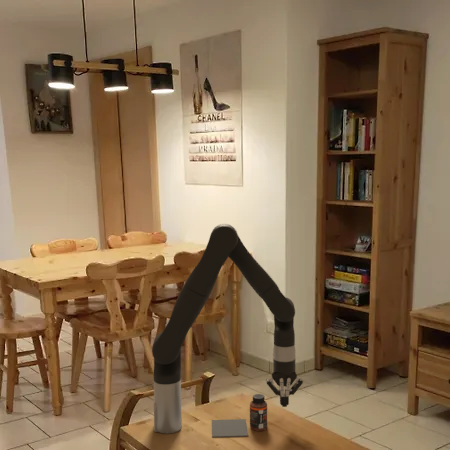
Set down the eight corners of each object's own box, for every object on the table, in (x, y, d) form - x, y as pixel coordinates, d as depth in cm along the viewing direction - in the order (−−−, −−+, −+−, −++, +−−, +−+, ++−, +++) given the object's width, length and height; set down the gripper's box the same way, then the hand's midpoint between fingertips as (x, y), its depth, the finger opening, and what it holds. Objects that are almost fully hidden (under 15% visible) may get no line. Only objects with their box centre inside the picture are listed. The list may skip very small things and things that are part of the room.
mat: (212, 437, 186) (212, 436, 186) (211, 421, 198) (211, 420, 198) (248, 436, 187) (248, 435, 187) (245, 420, 198) (245, 419, 198)
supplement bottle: (266, 432, 189) (265, 400, 188) (248, 431, 190) (248, 399, 189) (268, 424, 195) (268, 393, 194) (251, 423, 196) (251, 392, 195)
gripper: (266, 361, 186) (266, 411, 188) (305, 360, 187) (305, 410, 189) (263, 353, 194) (263, 401, 196) (301, 352, 194) (301, 400, 196)
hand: (284, 405), depth 192 cm, fingers closed
